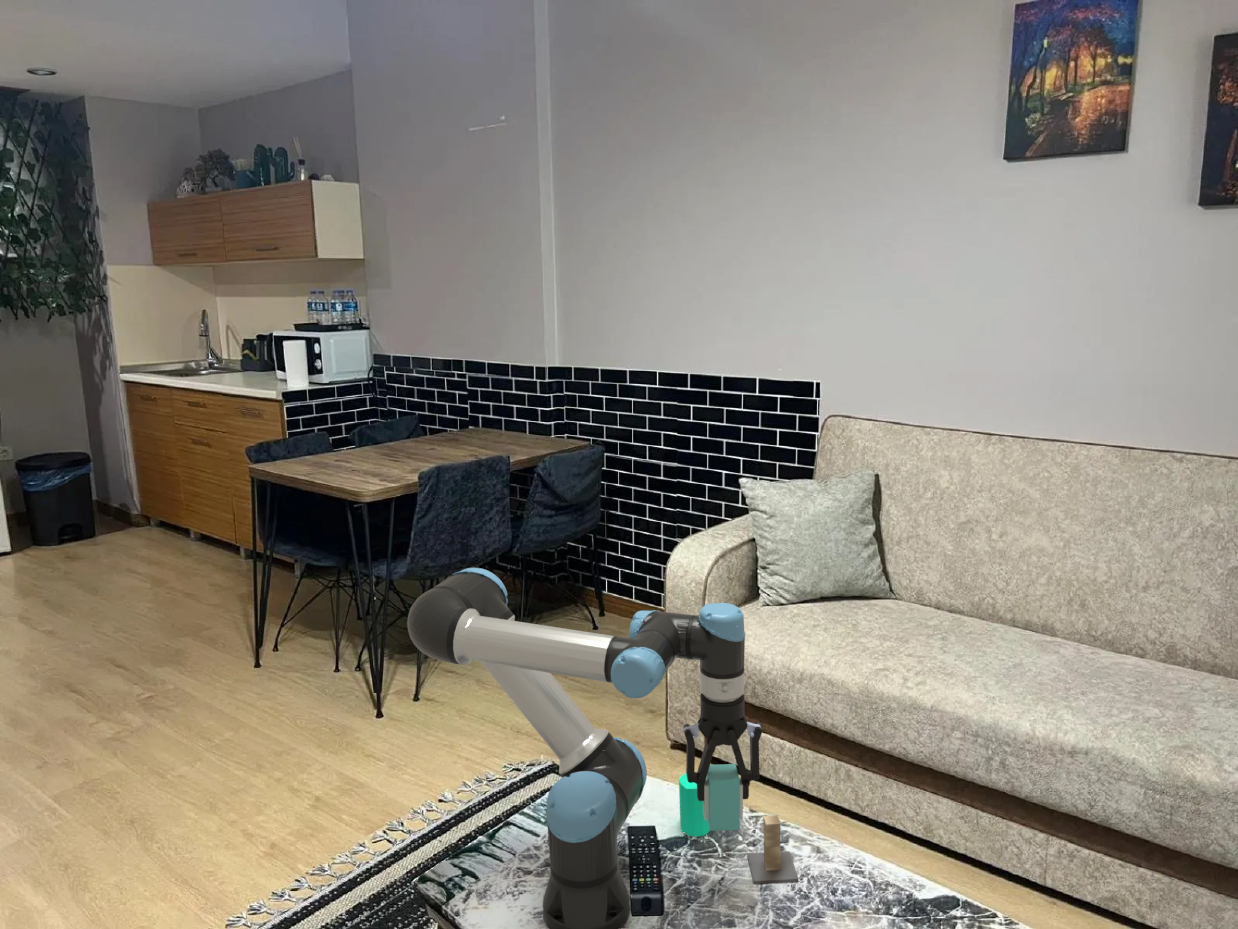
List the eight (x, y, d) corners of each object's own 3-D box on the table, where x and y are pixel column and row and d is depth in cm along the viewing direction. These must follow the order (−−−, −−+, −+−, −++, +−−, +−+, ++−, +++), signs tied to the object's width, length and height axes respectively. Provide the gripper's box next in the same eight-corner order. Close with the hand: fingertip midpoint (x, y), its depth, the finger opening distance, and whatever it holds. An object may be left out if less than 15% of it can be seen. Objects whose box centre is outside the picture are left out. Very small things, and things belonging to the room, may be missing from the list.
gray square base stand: (754, 884, 165) (753, 834, 163) (747, 856, 173) (746, 808, 170) (798, 882, 165) (798, 832, 163) (789, 854, 173) (789, 806, 171)
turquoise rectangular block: (709, 831, 160) (709, 781, 158) (706, 813, 165) (706, 765, 163) (739, 829, 160) (739, 780, 158) (735, 812, 165) (735, 764, 163)
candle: (675, 824, 184) (673, 769, 181) (701, 815, 186) (699, 762, 183) (689, 840, 178) (688, 784, 176) (716, 831, 181) (715, 776, 178)
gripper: (670, 705, 153) (672, 829, 158) (779, 701, 153) (778, 826, 158) (667, 685, 161) (669, 804, 166) (771, 682, 161) (770, 801, 166)
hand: (722, 814), depth 162 cm, fingers closed on turquoise rectangular block, 5 cm apart
